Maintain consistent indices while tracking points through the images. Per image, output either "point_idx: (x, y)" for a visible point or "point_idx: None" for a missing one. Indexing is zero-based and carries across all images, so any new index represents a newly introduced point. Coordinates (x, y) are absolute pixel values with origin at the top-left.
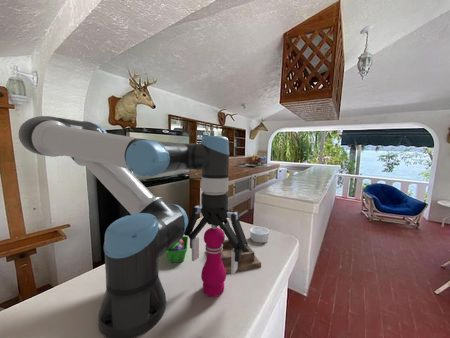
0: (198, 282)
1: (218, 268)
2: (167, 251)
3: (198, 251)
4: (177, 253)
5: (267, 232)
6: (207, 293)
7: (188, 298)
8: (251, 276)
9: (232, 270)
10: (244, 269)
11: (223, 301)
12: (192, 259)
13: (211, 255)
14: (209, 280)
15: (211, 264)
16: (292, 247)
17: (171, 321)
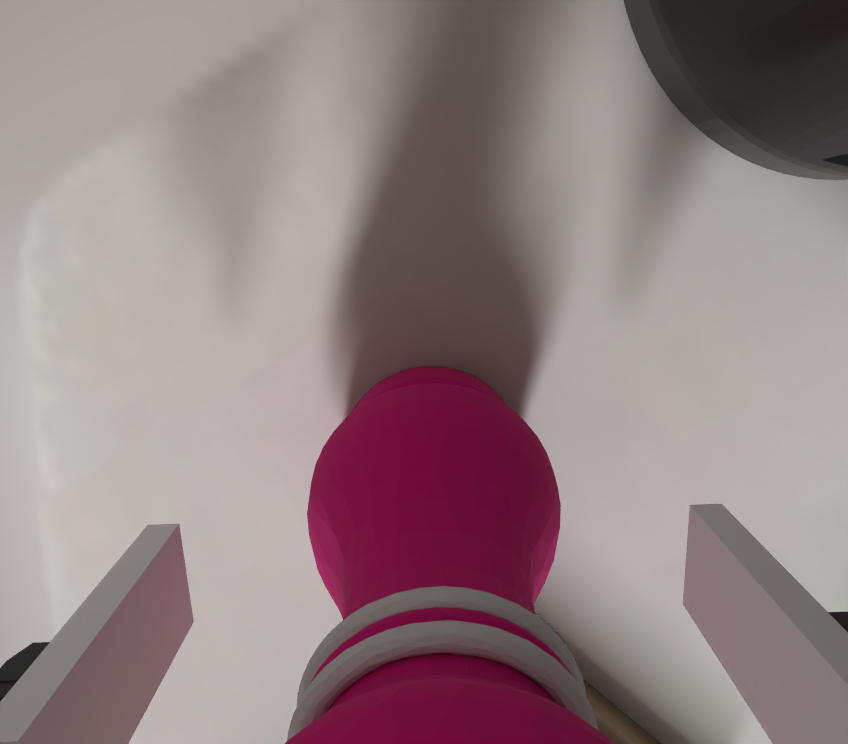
0: (587, 454)
1: (338, 524)
2: None
3: (717, 647)
4: None
5: None
6: (432, 369)
7: (553, 265)
8: (241, 713)
9: (144, 545)
10: None
11: (291, 378)
12: (718, 514)
13: (418, 583)
14: (406, 400)
15: (413, 512)
16: None
17: (526, 4)
